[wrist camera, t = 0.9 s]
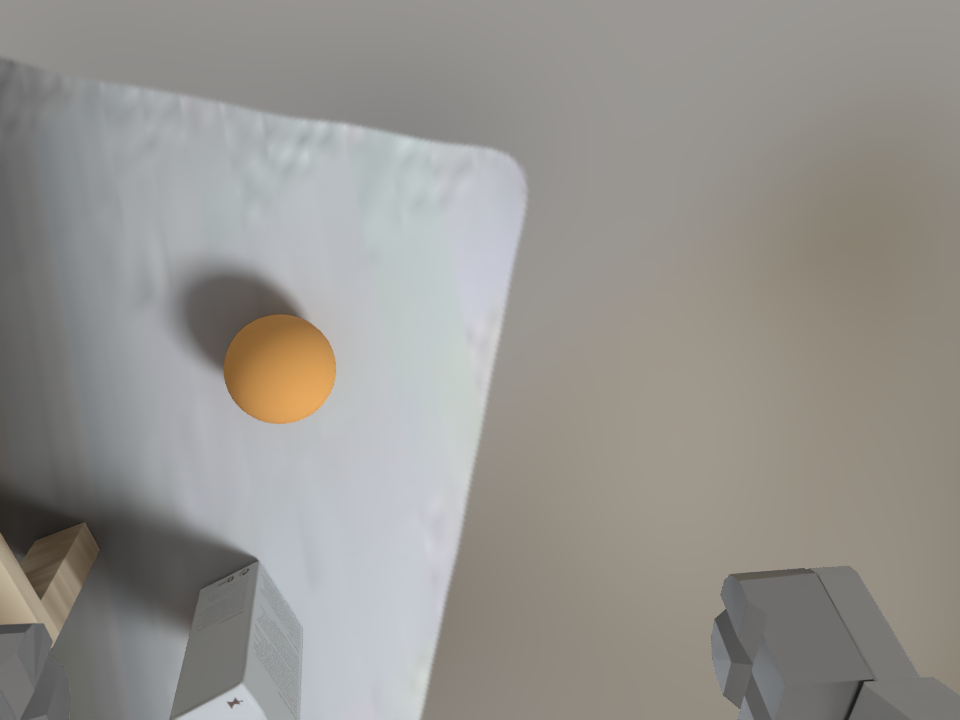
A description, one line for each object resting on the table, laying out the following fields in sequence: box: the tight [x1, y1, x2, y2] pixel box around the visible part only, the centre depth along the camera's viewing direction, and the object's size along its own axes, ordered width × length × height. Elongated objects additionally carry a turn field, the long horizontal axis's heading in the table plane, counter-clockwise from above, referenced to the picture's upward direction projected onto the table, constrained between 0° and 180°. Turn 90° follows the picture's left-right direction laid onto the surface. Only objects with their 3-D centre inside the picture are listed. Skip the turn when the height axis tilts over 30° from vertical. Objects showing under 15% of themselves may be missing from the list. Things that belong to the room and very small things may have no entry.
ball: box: [224, 314, 336, 424], centre depth 47 cm, size 6×6×6 cm
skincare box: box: [169, 561, 303, 720], centre depth 49 cm, size 6×4×12 cm
